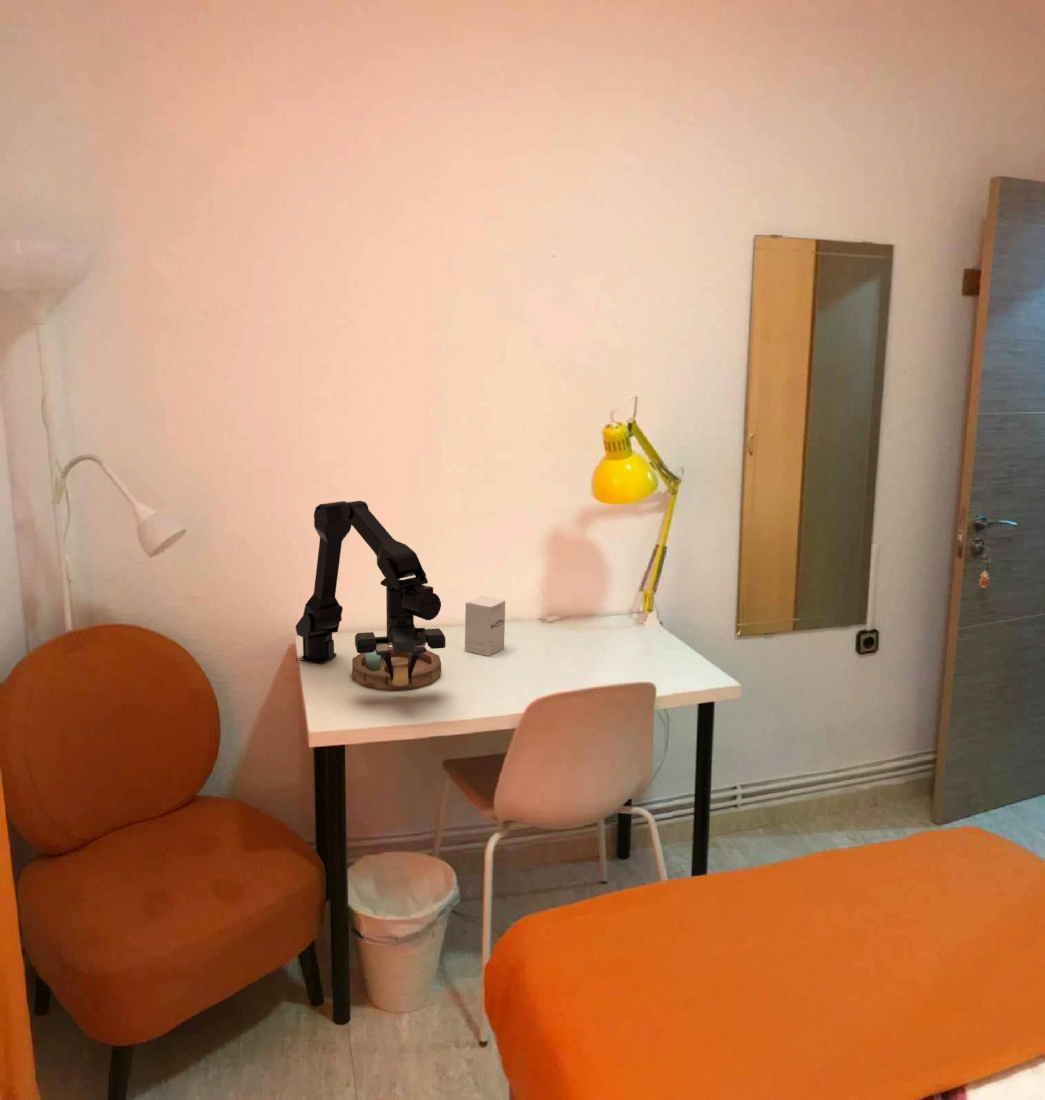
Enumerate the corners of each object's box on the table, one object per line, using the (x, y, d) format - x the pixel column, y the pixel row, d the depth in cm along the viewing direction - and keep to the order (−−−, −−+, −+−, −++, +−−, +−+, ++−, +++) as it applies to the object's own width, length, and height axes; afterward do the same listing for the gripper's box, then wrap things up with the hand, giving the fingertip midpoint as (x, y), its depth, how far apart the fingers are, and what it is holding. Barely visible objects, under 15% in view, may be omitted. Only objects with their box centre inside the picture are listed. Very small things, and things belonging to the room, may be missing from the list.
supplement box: (489, 657, 242) (489, 607, 239) (463, 651, 245) (464, 602, 242) (505, 648, 248) (506, 600, 245) (480, 643, 251) (481, 595, 248)
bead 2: (389, 684, 213) (389, 667, 212) (396, 679, 216) (396, 662, 215) (403, 686, 212) (403, 669, 211) (411, 681, 215) (411, 664, 214)
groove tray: (336, 682, 223) (335, 668, 222) (378, 654, 241) (378, 642, 240) (416, 695, 216) (416, 682, 215) (454, 666, 234) (454, 653, 234)
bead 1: (379, 671, 227) (379, 654, 226) (364, 671, 227) (364, 654, 226) (381, 666, 230) (381, 649, 229) (366, 665, 230) (366, 649, 229)
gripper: (359, 622, 200) (360, 695, 204) (450, 617, 205) (450, 688, 209) (354, 607, 211) (355, 676, 215) (441, 602, 216) (440, 670, 219)
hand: (400, 678), depth 214 cm, fingers closed on bead 2, 3 cm apart
